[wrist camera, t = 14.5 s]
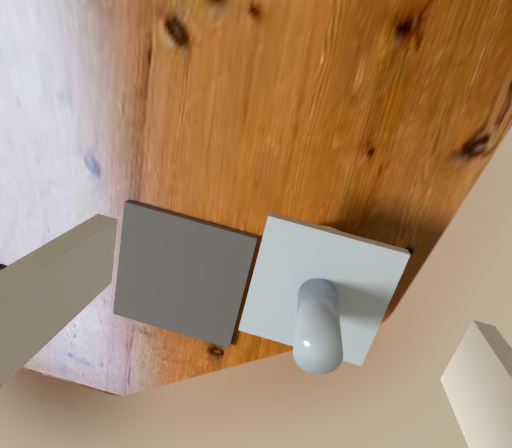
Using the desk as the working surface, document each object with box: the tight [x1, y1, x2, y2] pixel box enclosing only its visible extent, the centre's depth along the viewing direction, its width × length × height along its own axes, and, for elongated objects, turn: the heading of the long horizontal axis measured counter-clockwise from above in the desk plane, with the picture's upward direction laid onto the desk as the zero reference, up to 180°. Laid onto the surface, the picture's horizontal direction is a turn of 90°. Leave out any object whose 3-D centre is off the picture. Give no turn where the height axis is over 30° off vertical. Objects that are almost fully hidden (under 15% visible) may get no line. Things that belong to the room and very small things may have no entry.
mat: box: [113, 200, 258, 348], centre depth 52 cm, size 18×18×1 cm
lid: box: [238, 212, 410, 374], centre depth 35 cm, size 14×14×10 cm
